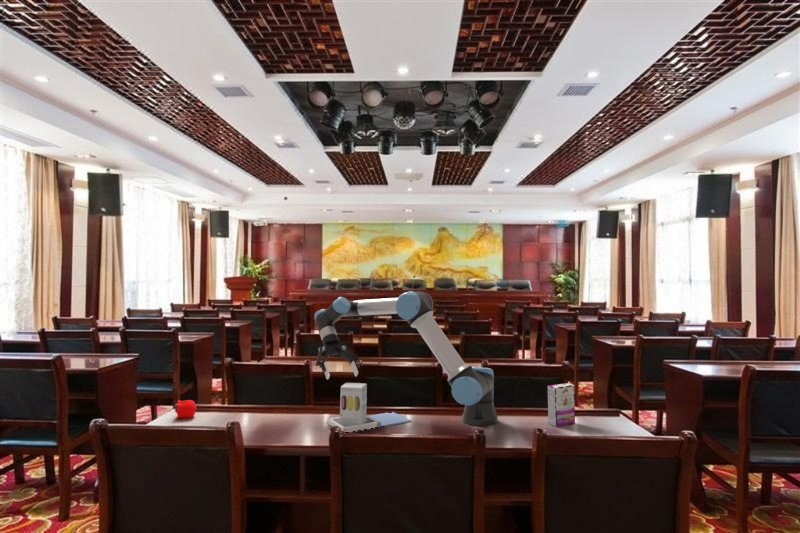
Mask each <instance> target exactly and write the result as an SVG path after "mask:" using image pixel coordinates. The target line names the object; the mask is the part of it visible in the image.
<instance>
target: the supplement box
mask: <svg viewBox="0 0 800 533" xmlns="http://www.w3.org/2000/svg"><path fill="white" fill-rule="evenodd" d="M367 386H368V384H367V383H360V382H345V383H343V384H342V385H341V386H340V396H339V397H340V398H339V399H340V401H339V417H340V423H339V424H340V425H342V426H344V427H348V426H354V425H360V424H366V423H367V422H366V415H367V402H368V401H367V400H368V397H367V394H368V393H367V392H368V391H367V390H368V389H367V388H368V387H367Z"/></svg>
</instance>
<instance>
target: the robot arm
mask: <svg viewBox="0 0 800 533" xmlns="http://www.w3.org/2000/svg"><path fill="white" fill-rule="evenodd" d="M433 308H434V301H433V298H432V296H431V295H430V294H429V293H427V292H425V291H412V290H411V291H407V292H406V291H405V292H403V293H402V294H400V295H399V296H398V297H387V298H372V299H359V300H354V299H353V300H348V299H347V298H346V297H343V296H339V297H338V298H337V299H335V300H334V301H333V302H332V303H331V304H330V305H329V306H328V307H327V308H326V309H325V308H322V309H319V310H317V311H316V312H315V313H314V322H315V324H316V328H317V330H318V332H319V336H320V339H321V342H322V345H323V346H322V345H319V347H318V349H317V352H318V354H317V358H316V363H315V366H316V367H319V369H320V368H321V371H322V373H324V376H325V379H326V380H329V379H330V377H331V375H330V371H329V368H328V365H327V363H326V361H327V359H329V357H330V356H331V357H333V356H339V357H342V358H343V359H344V360H346V361H348V362H349V363H350V366H351V369H352V371H353V372H352V373H353V374H354V377H357V376H358V375H359V370H358V368H359V366H358V361H359V360H360V358H359V356H357V355H356V354H355V353H354V351H353V350H352V349H351V348H349V346H348V344H347V343H344V345H341V342H340V339H339V336H338V333H337V330H336V328H335V325H334V324H335V323H337V322H338V321H339V320H340V319H341V318H343V317H345V318H346V317H355V316H358V317H360V316H375V315H377V316H378V315H396V314H397V315H398V316H399V317H400V318H401V319H403V320H406V322H407V323H408V324H409V326H410V328H412V329H413V328H414V329H416V330H417V332H418V333H419V335H420V336H421V338H422V339H423V340H424V342H425V343H426V345H427V347H429V349H430V351H431V352H432V353H433V355H434V356H435V358H436V360H437V361H438V363H439V365H441V367H442V369H443V370H444V371H445V373H446V375H447V382H448V384H449V385H450V387H451V395H452V397H453V398H454V400H455V401H456V403H459V404H460V405H463V406H464V409H463V413H462V415H461V416H462V417H461V419H462V422H463V423H465V424H468V425H472V426H481V427H483V426H485V427H488V426H492V425H496V424H498V422H499V421H498V420H499V419H498V414H497V411H496V407H495V404H494V388H495V386H494V382H495V381H494V377H495V375H494V370H493V369H492V368H489V367H481V366H472V365H471V364H468V363H465V361H464V360H463V359H462V357H461V356H460V354H459V352H457V350H456V349H455V347H454V345H453V344H452V343H451V341H450V340H449V339H448V337H447V335H446V334H445V333H444V332H443V330H442V328H441V327H440V326H439V324H438V323H437V321H436V320H435V318H434V316H433V315H434V311H433ZM324 351H325V352H326V354H325V355H324V357H323V359H322V354H323V353H324ZM321 359H322V361H321Z"/></svg>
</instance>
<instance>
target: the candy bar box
mask: <svg viewBox="0 0 800 533" xmlns="http://www.w3.org/2000/svg"><path fill="white" fill-rule="evenodd" d="M575 408H576V407H575V385H574V384H571V383H567V382H566V383H559V384H551V385H547V413H548V414H547V416H548V418H547V420H548V423H547V424H548V425H550V426H551V427H552V426H553V427H556V428H559V427H564V426H568V425H569V426H570V425H574V424H576V414H575V413H576V409H575Z"/></svg>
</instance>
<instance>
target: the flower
mask: <svg viewBox="0 0 800 533" xmlns="http://www.w3.org/2000/svg"><path fill="white" fill-rule="evenodd" d="M176 409H177V410H176V415H177V416H176V419H190V418H192V417H194V416H195V415H196V412H197V409H198V408H197V405H196V403H195V401H194V400H191V399H188V400H179V399H178V400H177V407H176Z"/></svg>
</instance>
